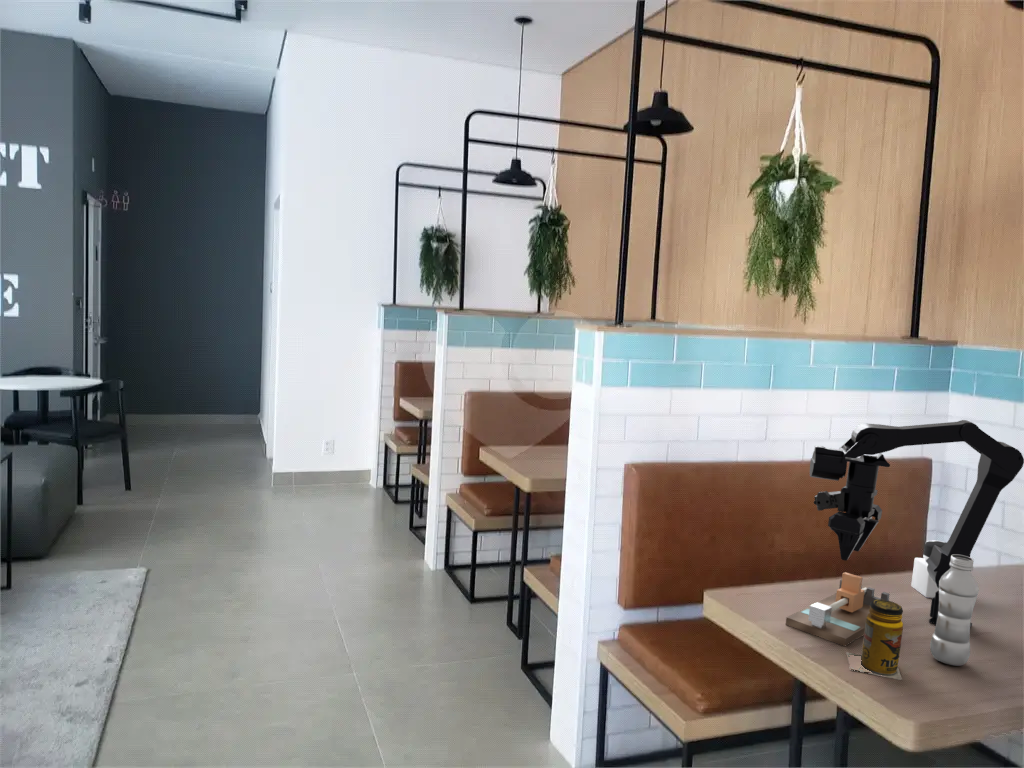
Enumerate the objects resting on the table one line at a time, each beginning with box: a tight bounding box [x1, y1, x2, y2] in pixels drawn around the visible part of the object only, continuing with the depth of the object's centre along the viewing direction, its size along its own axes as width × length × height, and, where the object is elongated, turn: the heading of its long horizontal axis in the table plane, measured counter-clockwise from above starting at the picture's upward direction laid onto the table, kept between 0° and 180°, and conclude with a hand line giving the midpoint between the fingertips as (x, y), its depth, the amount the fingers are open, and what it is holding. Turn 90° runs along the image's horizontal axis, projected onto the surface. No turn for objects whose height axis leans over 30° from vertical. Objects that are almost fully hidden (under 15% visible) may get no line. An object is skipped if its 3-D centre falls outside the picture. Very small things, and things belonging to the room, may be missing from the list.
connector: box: [808, 601, 832, 629], centre depth 155 cm, size 3×3×4 cm
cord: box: [829, 587, 868, 612], centre depth 163 cm, size 1×20×1 cm, turn 134°
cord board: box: [785, 592, 870, 647], centre depth 163 cm, size 12×23×2 cm, turn 134°
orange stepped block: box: [836, 571, 865, 612], centre depth 164 cm, size 4×5×7 cm
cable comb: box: [838, 579, 890, 606], centre depth 170 cm, size 10×1×4 cm, turn 44°
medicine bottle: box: [910, 539, 947, 599], centre depth 182 cm, size 7×7×12 cm
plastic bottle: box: [929, 554, 980, 667], centre depth 145 cm, size 6×7×20 cm
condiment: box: [845, 599, 904, 681], centre depth 142 cm, size 7×8×12 cm
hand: (850, 555), depth 168 cm, fingers open, 9 cm apart
